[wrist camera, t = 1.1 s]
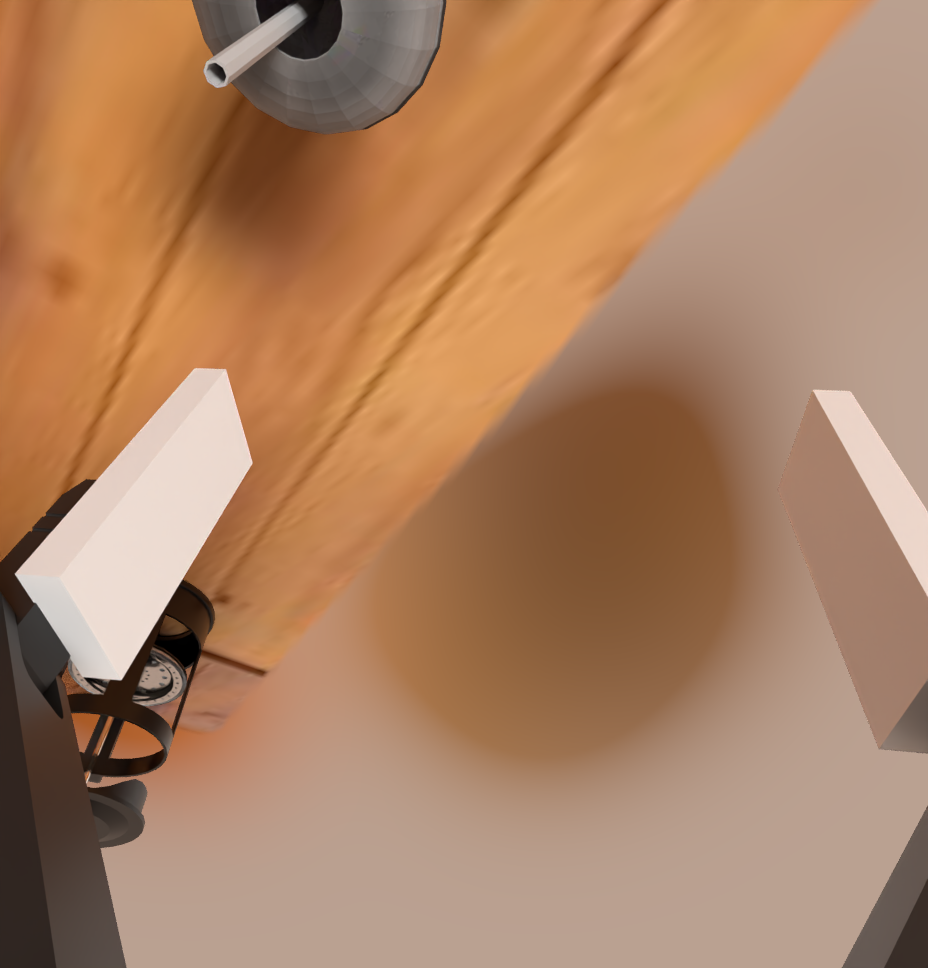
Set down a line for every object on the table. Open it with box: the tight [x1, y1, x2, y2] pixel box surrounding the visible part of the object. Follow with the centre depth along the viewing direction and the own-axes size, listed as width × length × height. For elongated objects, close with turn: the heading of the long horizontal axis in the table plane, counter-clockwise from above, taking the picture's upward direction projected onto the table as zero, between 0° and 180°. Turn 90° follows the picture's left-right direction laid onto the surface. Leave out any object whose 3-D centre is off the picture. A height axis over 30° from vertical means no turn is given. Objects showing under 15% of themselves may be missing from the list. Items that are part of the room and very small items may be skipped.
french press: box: [58, 580, 215, 848], centre depth 46 cm, size 12×9×23 cm
